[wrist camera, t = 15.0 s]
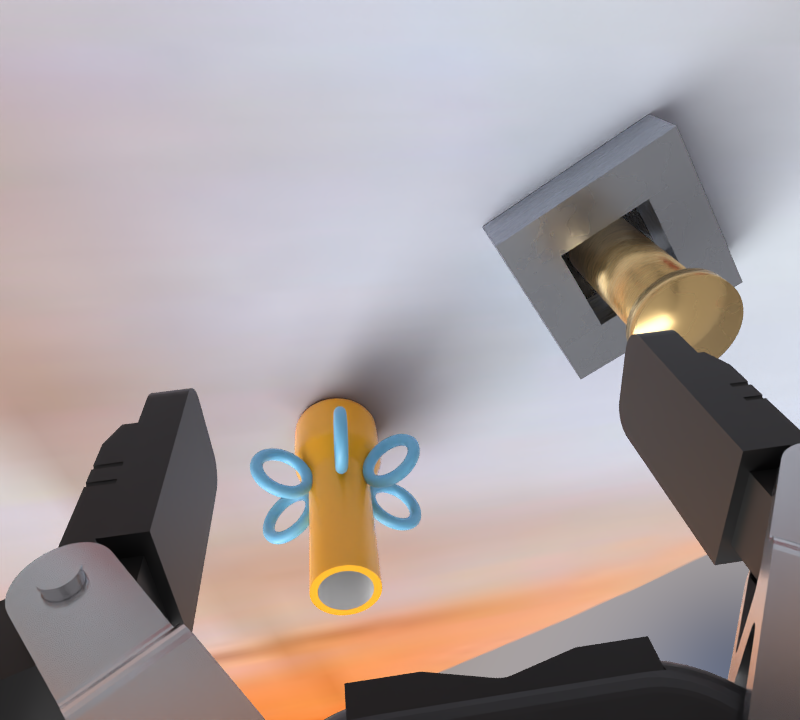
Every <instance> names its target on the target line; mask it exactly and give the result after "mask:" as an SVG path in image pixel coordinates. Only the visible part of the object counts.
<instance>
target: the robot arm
mask: <svg viewBox="0 0 800 720" xmlns="http://www.w3.org/2000/svg"><path fill="white" fill-rule="evenodd" d="M619 413H620V419H621V424H622V427H623V430H624V432H625V434H626V436H627V437H628V439H629V440H630V442H631V443H632V445H633V446H634V448H635V449H636V451H637V452H638V454H639V455H640V457H641V458H642V459H643V461H644V462H645V464H646V465H647V467H648V468H649V470H650V471H651V473H652V474H653V476H654V477H655V478H656V480H657V481H658V483H659V484H660V486H661V487H662V489H663V490H664V492H665V493H666V495H667V496H668V498H669V499H670V500H671V502H672V503H673V505H674V506H675V508H676V509H677V511H678V512H679V514H680V515H681V517H682V518H683V519H684V521H685V522H686V524H687V525H688V527H689V528H690V530H691V531H692V533H693V534H694V536H695V537H696V539H697V540H698V541H699V543H700V544H701V546H702V547H703V549H704V550H705V552H706V553H707V555H708V556H709V558H710V559H711V560H712V562H713V563H714V565H718V564H726V563H732V562H739V561H743V562H744V563H745V564H746V566H747V567H748V568H749V573H748V576H747V580H746V583H745V588H744V593H743V599H742V605H741V610H740V616H739V621H738V627H737V632H736V639H735V643H734V649H733V655H732V660H731V666H730V671H729V676H728V680H727V679H725V678H722V677H720V676H717V675H715V674H712V673H710V672H708V671H704V670H701V669H698V668H695V667H691V666H688V665H683V664H678V663H673V662H667V661H660V660H659V657H658V655H657V653H656V651H655V650H654V647H653V645H652V644H651V642H650V640H649V638H648V637H641V638H634V639H628V640H621V641H615V642H608V643H602V644H595V645H589V646H583V647H577V648H573V649H571V650H569V651H567V652H564V653H562V654H560V655H557V656H555V657H553V658H550V659H548V660H546V661H544V662H541V663H539V664H537V665H535V666H532V667H530V668H528V669H525V670H523V671H521V672H518V673H516V674H514V675H512V676H509V677H505V678H486V677H476V676H464V675H453V674H441V673H430V672H416V673H409V674H403V675H397V676H390V677H384V678H377V679H371V680H365V681H358V682H352V683H345V702H346V709H345V710H342V711H340V712H338V713H336V714H334V715H332V716H330V717H328V718H326V719H325V720H800V430H799V429H798V428H797V427H796V426H795V425H794V424H793V423H792V422H791V421H790V420H789V419H787V418H786V417H785V416H784V415H783V414H782V413H781V412H780V411H779V410H778V409H777V408H776V407H775V406H774V405H773V404H771V403H770V402H769V401H768V400H767V399H766V398H764V399H763V398H762V394H761V393H760V392H759V391H758V390H757V389H755V388H754V387H753V386H752V385H748V381H747V380H746V379H745V378H744V377H743V376H742V375H741V374H739V373H738V372H737V371H736V370H735V369H734V368H733V367H732V366H731V365H730V364H728V363H726V362H724V361H722V360H720V359H718V358H716V357H714V356H711V355H709V354H707V353H705V352H699V353H698V352H697V351H696V350H695V349H694V348H693V347H692V346H691V345H689V344H688V343H687V342H686V341H685V340H684V339H683V338H682V337H681V336H680V335H679V334H678V333H677V332H676V331H674V330H664V331H656V332H648V333H640V334H633V335H631V336H630V337H629V339H628V341H627V344H626V351H625V359H624V368H623V376H622V384H621V393H620V401H619ZM93 466H94V469H93V470H91V472H90V475H89V477H88V479H87V481H86V487H84V488H83V491H82V493H81V495H80V498H79V500H78V502H77V505H76V507H75V509H74V512H73V514H72V516H71V519H70V521H69V523H68V526H67V528H66V530H65V533H64V535H63V537H62V540H61V542H60V544H59V547H58V548H56V549H54V550H52V551H50V552H48V553H46V554H44V555H42V556H40V557H39V558H37V559H36V560H34V561H33V562H32V563H30V564H29V565H28V566H27V567H25V568H24V569H23V570H22V571H21V572H20V573H19V574H18V576H17V577H16V578H15V579H14V581H13V582H12V584H11V585H10V587H9V589H8V592H7V594H6V599H4V600H2V601H0V720H265V719H264V718H263V716H262V715H261V714H260V713H259V712H258V710H257V709H256V708H255V707H254V706H253V705H252V703H251V702H250V701H249V700H248V699H247V697H246V696H245V695H244V694H243V693H242V691H241V690H240V689H239V688H238V687H237V685H236V684H235V683H234V682H233V681H232V679H231V678H230V677H229V676H228V675H227V673H226V672H225V671H224V670H223V669H222V667H221V666H220V665H219V664H218V663H217V662H216V660H215V659H214V658H213V657H212V656H211V654H210V653H209V652H208V651H207V650H206V648H205V647H204V646H203V645H202V644H201V642H200V641H199V640H198V639H197V638H196V636H195V635H194V634H193V633H192V630H193V624H194V618H195V612H196V606H197V601H198V595H199V589H200V583H201V577H202V572H203V566H204V560H205V554H206V549H207V543H208V537H209V531H210V525H211V520H212V514H213V508H214V502H215V496H216V490H217V469H216V461H215V456H214V453H213V449H212V445H211V442H210V438H209V434H208V431H207V427H206V424H205V420H204V416H203V413H202V409H201V406H200V402H199V399H198V396H197V393H196V391H195V390H194V389H193V388H190V389H182V390H174V391H166V392H158V393H151V394H149V396H148V398H147V400H146V403H145V406H144V408H143V411H142V414H141V416H140V419H139V422H138V423H132V424H124V425H122V426H121V427H119V428H118V429H117V430H116V431H115V432H114V433H113V434H112V435H111V436H110V437H109V438H108V439H107V440H106V441H105V442H104V443H103V444H102V447H101V449H100V451H99V454H98V456H97V458H96V461H95V463H94V465H93Z"/></svg>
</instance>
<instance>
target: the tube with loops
mask: <svg viewBox="0 0 800 720" xmlns="http://www.w3.org/2000/svg"><path fill="white" fill-rule="evenodd" d="M396 446H406V447H407V448H408V453H407V456H406V458H405V459H404V461H403V462H402V463H401V465H400V466H399V467H397V468H396V469H395V470H393V471H392V472H390V473H388V474H385V475H381V476H378V472H379V469H380V463H381V459H380V457H381V456H382V455H383V454H384V453H385V452H387V451H388V450H390V449H391V448H394V447H396ZM419 453H420V448H419V444H418V442H417V440H416V439H415V438H414V437H412V436H410V435H407V434H397V435H393V436H390V437H388V438H386V439H384V440H383V441H381V442H380V443H378V437H377V431H376V425H375V421H374V419H373V417H372V415H371V414H370V413H369V411H368V410H367V409H365V407H363V406H362V405H360V404H359V403H357V402H354V401H352V400H347V399H342V398H333V399H326V400H323V401H320V402H318V403H315V404H313V405H312V406H311V407H309V408H308V409H307V410H306V411H305V412H304V413H303V414H302V415H301V417H300V418H299V420H298V422H297V425H296V431H295V455H294V454H293V453H290V452H288V451H285V450H281V449H265V450H262V451H260V452H258V453H257V454H255V455H254V457H253V458H252V460H251V463H250V471H251V474H252V476H253V478H254V480H255V481H256V483H257V484H258V485H259V486H260V487H261V488H263V489H264V490H265V491H267V492H269V493H270V494H273V495H275V496H278V497H281V499H279V500H278V501H277V502H276V503H275V504H274V505H273V507H272V508H271V509H270V511H269V512H268V514H267V516H266V518H265V521H264V524H263V534H264V536H265V538H266V539H267V540H268V541H269V542H271V543H273V544H283V543H286V542H289V541H291V540H293V539H295V538H296V537H297V536H299V535H300V534H301V533H302V532H303V531H304V530H305V529H306V528H307V527H308V526H309V572H310V598H311V600H312V602H313V604H314V605H315V606H316V607H317V608H319V609H320V610H322V611H324V612H326V613H330V614H334V615H350V614H355V613H359V612H361V611H364V610H366V609H368V608H369V607H371V606H372V605H373V604H374V603H375V602H376V601H377V600H378V599H379V597H380V595H381V592H382V582H381V574H380V566H379V558H378V549H377V541H376V533H375V524H374V518H375V519H377V520H378V521H379V522H381V523H382V524H384V525H386V526H388V527H390V528H393V529H396V530H409V529H412V528H414V527H416V526H417V525H418V523H419V522H420V519H421V510H420V507H419V504H418V503H417V501H416V500H415V498H414V497H413V496H412V495H411V494H410V493H409V492H408V491H406V490H405V489H404V488H402V487H400V486H398V485H396V483H397V482H399V481H401V480H402V479H403V478H405V477H406V476H407V475H408V474H409V473H410V472H411V471H412V469H413V468H414V466H415V465H416V463H417V461H418V458H419ZM269 460H276V461H281V462H284V463H286V464H288V465H290V466H292V467H293V468H294V469H295V471H296V474H297V477H298V479H299V480H300V482H301V483H300V484H299V485H297V486H286V485H282V484H279V483H277V482H275V481H273V480H272V479H271V478H269V477H268V476H267V475H266V473H265V472H264V470H263V463H264V462H266V461H269ZM380 492H384V493H389V494H392V495H394V496H396V497H397V498H399V499H400V500H401V501H403V502H404V503H405V505H406V506H407V507H408V509H409V512H410V516H409V517H408V518H398V517H395V516H392V515H390V514H389V513H387V512H386V511H384V510H383V509H382V508H381V507H380V506H379V504H378V503H377V501H376V498H375V495H376V494H377V493H380ZM301 500H303V501H305V503H306V505H305V509H304V512H303V514H302V515H301V517H300V518H299V519H298V520H297V522H296V523H295V524H293V525H292V526H291V527H290V528H288V529H286V530H284V531H281V532H276V531H275V523H276V521H277V519H278V517H279V516H280V514H281V513H282V512H283V511H284V510H285V509H286V508H287V507H288V506H290V505H291V504H293V503H294V502H297V501H301Z"/></svg>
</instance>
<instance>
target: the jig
mask: <svg viewBox="0 0 800 720" xmlns="http://www.w3.org/2000/svg"><path fill="white" fill-rule="evenodd" d="M636 207H637V209H638V211H639V213H640V215H641V217H642V219H643V221H644V223H645V225H646V227H647V229H648V231H649V233H650V235H651V237H652V239H653V241H654V243H655V244H656V245H658V246H659V247H660V248H661V249H663V250H664V251H665V252H667V253H668V254H669V255H670V256H672V257H673V258H674V259H675V260H677V261H678V262H679V263H680V264H682V265H683V266H684V267H686V268H702V269H706V270H710V271H712V272H714V273H716V274H718V275H719V276H721V277H722V278H723V279H725V280H726V281H727V282H729V283H730V284H731V285H732V286H733V287H735V286H737V285H738V284H740V283H742V280H741V277H740V275H739V273H738V270H737V268H736V265H735V263H734V261H733V258H732V256H731V254H730V251H729V249H728V246H727V244H726V242H725V239H724V237H723V235H722V232H721V230H720V227H719V225H718V223H717V220H716V218H715V216H714V213H713V211H712V208H711V206H710V204H709V201H708V199H707V197H706V194H705V192H704V190H703V187H702V185H701V182H700V180H699V178H698V175H697V173H696V171H695V168H694V166H693V163H692V161H691V159H690V156H689V154H688V152H687V149H686V147H685V144H684V142H683V140H682V137H681V135H680V133H679V130H678V128H677V126H676V125H674V124H672V123H669V122H667V121H664V120H662V119H660V118H657V117H655V116H653V115H650V114H648V115H647V116H645V117H644V118H643V119H641V120H640V121H638V122H637V123H635V124H634V125H632V126H631V127H629V128H628V129H626V130H625V131H623V132H622V133H620V134H619V135H617V136H616V137H614V138H613V139H612V140H610V141H609V142H607V143H606V144H604V145H603V146H601V147H600V148H598V149H597V150H595V151H594V152H592V153H591V154H589V155H588V156H586V157H585V158H583V159H582V160H581V161H579V162H578V163H576V164H575V165H573V166H572V167H570V168H569V169H567V170H566V171H564V172H563V173H561V174H560V175H558V176H557V177H555V178H554V179H552V180H551V181H550V182H548V183H547V184H545V185H544V186H542V187H541V188H539V189H538V190H536V191H535V192H533V193H532V194H530V195H529V196H527V197H526V198H524V199H523V200H522V201H520V202H519V203H517V204H516V205H514V206H513V207H511V208H510V209H508V210H507V211H505V212H504V213H502V214H501V215H499V216H498V217H496V218H495V219H493V220H492V221H491V222H489V223H488V224H486V225H485V226H483V229H484V231H485V232H486V234H487V235H488V237H489V238H490V240H491V241H492V243H493V245H494V246H495V248H496V249H497V251H498V252H499V254H500V255H501V257H502V259H503V260H504V262H505V263H506V265H507V266H508V268H509V269H510V271H511V273H512V274H513V276H514V277H515V279H516V280H517V282H518V283H519V285H520V287H521V288H522V290H523V291H524V293H525V294H526V296H527V297H528V299H529V301H530V302H531V304H532V305H533V307H534V308H535V310H536V311H537V313H538V315H539V316H540V318H541V319H542V321H543V322H544V324H545V325H546V327H547V329H548V330H549V332H550V333H551V335H552V336H553V338H554V339H555V341H556V343H557V344H558V346H559V347H560V349H561V350H562V352H563V353H564V355H565V356H566V358H567V359H568V361H569V362H570V364H571V365H572V367H573V368H574V370H575V371H576V373H577V374H578V376H579V377H580V379H582V378H584V377H586V376H587V375H589V374H591V373H592V372H594V371H596V370H597V369H599V368H601V367H602V366H604V365H606V364H607V363H609V362H611V361H612V360H614V359H616V358H617V357H619V356H621V355H622V354H624V353H625V351H626V344H627V338H626V324H625V323H624V322H623V321H622V320H621V319H620V317H619V316H618V315H617V314H616V313H615V312H614V311H613V310H612V309H611V307H610V306H609V305H608V304H607V303H606V302H605V301H604V300H603V298H602V297H601V296H600V295H599V294H598V293H596V294H594V295H593V296H591V297H590V298H588V299H586V298H585V296H584V294H583V293H582V291H581V289H580V287H579V286H578V284H577V282H576V281H575V279H574V277H573V276H572V274H571V272H570V270H569V269H568V267H567V265H566V264H565V262H564V260H563V258H562V257H561V256H562V255H563V254H565V253H566V252H568V251H570V250H571V249H573V248H574V247H576V246H577V245H579V244H580V243H582V242H583V241H585V240H586V239H588V238H590V237H591V236H593V235H594V234H596V233H597V232H599V231H600V230H602V229H603V228H605V227H606V226H608V225H610V224H611V223H613V222H614V221H616V220H617V219H619V218H620V217H622V216H623V215H625V214H626V213H628V212H630V211H631V210H633V209H634V208H636Z"/></svg>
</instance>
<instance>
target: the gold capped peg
mask: <svg viewBox="0 0 800 720" xmlns="http://www.w3.org/2000/svg"><path fill="white" fill-rule="evenodd" d="M568 253H569V258H570V261H571V263H572V265H573V266H574V267H575V268H576V269H577V271H578V272H579V273H580V274H581V275H582V276H583V277H584V278H585V279H586V281H587V282H588V283H589V284H590V285H591V286H592V287H593V288H594V290H595V291H596V292H597V293H598V294H599V295H600V296H601V297H602V298H603V300H604V301H605V302H606V303H607V304H608V305H609V306H610V307H611V309H612V310H613V311H614V312H615V313H616V314H617V315H618V316H619V317H620V319H621V320H622V321H623V322H624V323H625V324H626V338H627V341H628V339H629V337H630V336H631V335H633V334H640V333H648V332H656V331H664V330H674V331H676V332H677V333H678V334H679V335H680V336H681V337H682V338H683V339H684V340H685V341H686V342H687V343H688V344H689V345H691V346H692V347H693V348H694V349H695V350H696V351H697V352H698V353H699V352H705V353H707V354H709V355H711V356H714V357H716V358H719V357H720V356H721V355H722V354H723V353H724V352H725V351H726V350H727V349H728V348H729V347H730V345H731V344H732V343H733V341H734V340H735V338H736V336H737V334H738V332H739V330H740V327H741V324H742V320H743V303H742V300H741V297H740V295H739V293H738V291H737V290H736V289H735V288H734V287H733V286H732V285H731V284H730V283H729V282H727V281H726V280H725V279H723V278H722V277H721V276H719V275H718V274H716V273H714V272H712V271H710V270H706V269H702V268H686V267H684V266H683V265H682V264H680V263H679V262H678V261H677V260H675V259H674V258H673V257H672V256H670V255H669V254H668V253H667V252H665V251H664V250H663V249H661V248H660V247H659V246H658V245H656V244H655V243H654V242H653V241H651V240H650V239H649V238H648V237H646V236H645V235H644V234H642V233H641V232H640V231H639V230H637V229H636V228H635V227H634V226H632V225H631V224H630V223H629V222H627V221H626V220H625V219H623V218H622V217H620V218H619V219H617V220H616V221H614V222H613V223H611V224H610V225H608V226H606V227H605V228H603V229H602V230H600V231H599V232H597V233H596V234H594V235H593V236H591V237H590V238H588V239H586V240H585V241H583V242H582V243H580V244H579V245H577V246H576V247H574V248H573V249H571V250H570V251H568Z"/></svg>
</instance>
